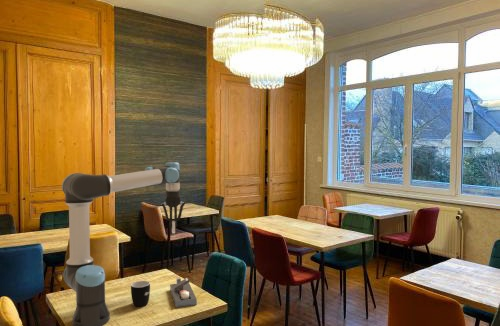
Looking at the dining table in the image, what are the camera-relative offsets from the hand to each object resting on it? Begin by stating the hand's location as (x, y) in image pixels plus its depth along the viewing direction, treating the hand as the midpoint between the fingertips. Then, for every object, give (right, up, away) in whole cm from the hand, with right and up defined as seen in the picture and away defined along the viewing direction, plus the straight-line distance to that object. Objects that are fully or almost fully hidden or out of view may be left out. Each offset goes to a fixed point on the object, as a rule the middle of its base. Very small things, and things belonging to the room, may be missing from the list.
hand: (173, 232), depth 207 cm
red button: (+9, -29, -18) cm, 35 cm away
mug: (-11, -31, -23) cm, 40 cm away
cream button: (+10, -28, -23) cm, 38 cm away
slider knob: (+4, -26, -6) cm, 27 cm away
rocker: (+7, -24, -12) cm, 28 cm away
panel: (+8, -30, -15) cm, 35 cm away
